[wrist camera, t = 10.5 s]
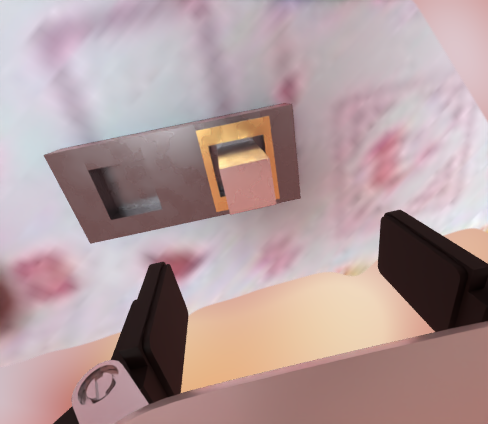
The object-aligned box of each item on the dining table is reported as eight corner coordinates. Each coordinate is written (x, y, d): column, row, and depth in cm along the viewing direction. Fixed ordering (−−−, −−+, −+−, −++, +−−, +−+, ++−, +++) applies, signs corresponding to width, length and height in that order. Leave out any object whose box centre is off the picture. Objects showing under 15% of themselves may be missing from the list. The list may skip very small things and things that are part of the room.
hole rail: (60, 148, 27) (42, 155, 24) (284, 103, 27) (292, 104, 24) (101, 230, 31) (89, 244, 28) (292, 189, 32) (301, 198, 29)
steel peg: (216, 147, 28) (219, 169, 20) (252, 139, 28) (269, 158, 20) (225, 181, 30) (230, 214, 21) (258, 174, 30) (276, 204, 21)
